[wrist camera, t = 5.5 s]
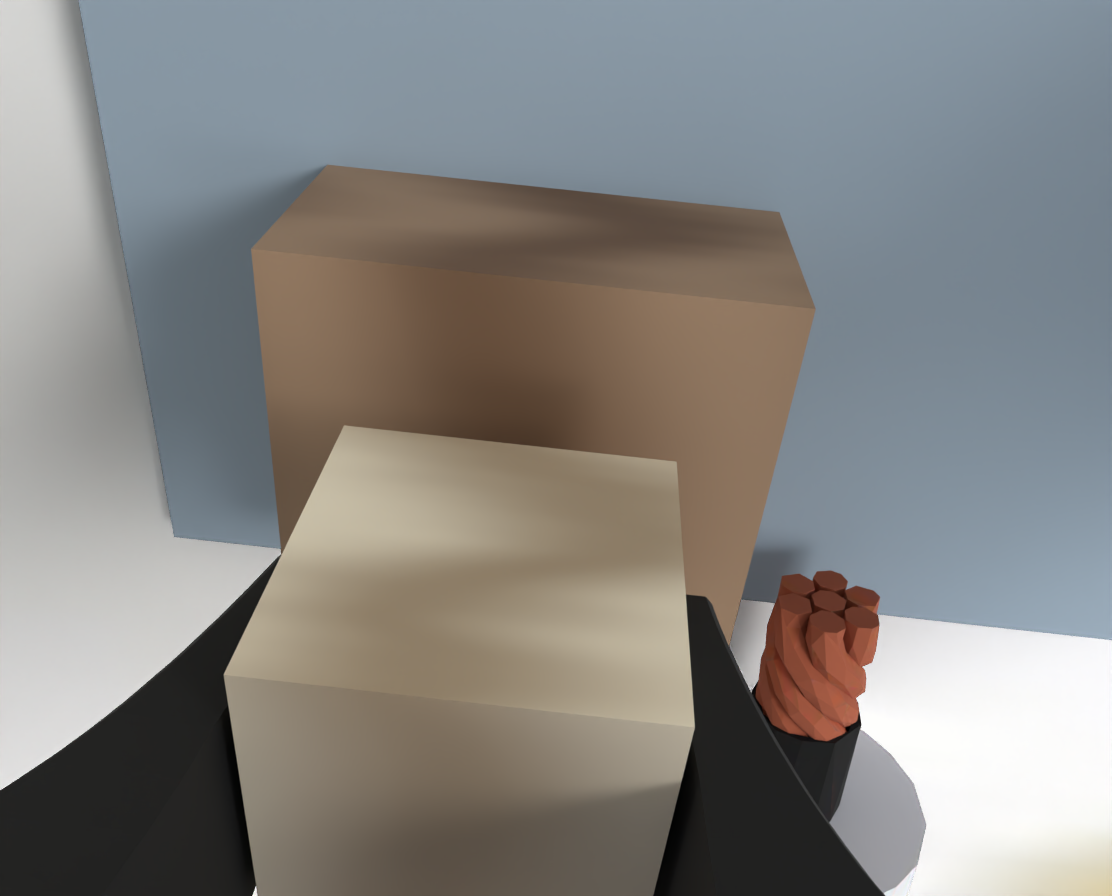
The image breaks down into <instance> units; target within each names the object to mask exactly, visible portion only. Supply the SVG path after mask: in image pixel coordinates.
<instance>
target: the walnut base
mask: <svg viewBox="0 0 1112 896" xmlns="http://www.w3.org/2000/svg"><path fill="white" fill-rule="evenodd" d="M251 253H252V263H253V273H254V284H255V294H256V304H257V314H258V324H259V334H260V344H261V354H262V364H263V374H264V384H265V394H266V404H267V414H268V424H269V434H270V444H271V455H272V465H273V475H274V485H275V495H276V505H277V515H278V525H279V535H280V545H281V554H282V553H283V551H284V549H285V547H286V545H287V543H288V540H289V538H290V536H291V534H292V532H293V530H294V528H295V526H296V524H297V522H298V520H299V518H300V516H301V514H302V512H303V509H304V507H305V505H306V503H307V501H308V499H309V497H310V495H311V493H312V491H313V489H314V487H315V485H316V483H317V480H318V478H319V476H320V474H321V472H322V470H323V468H324V466H325V464H326V462H327V460H328V458H329V456H330V454H331V452H332V449H333V447H334V445H335V443H336V441H337V439H338V437H339V435H340V433H341V431H342V429H343V427H344V425H345V426H354V427H363V428H372V429H381V430H391V431H400V432H409V433H418V434H427V435H436V436H446V437H455V438H464V439H473V440H482V441H492V442H501V443H510V444H519V445H528V446H537V447H547V448H556V449H565V450H574V451H583V452H592V453H602V454H611V455H620V456H629V457H638V458H647V459H657V460H666V461H675V462H677V474H678V488H679V503H680V517H681V532H682V547H683V561H684V576H685V590H686V594H687V595H696V596H705V597H707V599H708V600H709V601H710V602H711V603H712V605H713V608H714V611H715V613H716V616H717V619H718V621H719V624H720V626H721V629H722V631H723V634H724V636H725V638H726V641H727V643H728V645H729V644H730V640H731V636H732V632H733V629H734V625H735V621H736V617H737V613H738V609H739V605H740V601H741V597H742V594H743V590H744V586H745V582H746V578H747V574H748V570H749V566H750V563H751V559H752V555H753V551H754V547H755V543H756V539H757V535H758V531H759V528H760V524H761V520H762V516H763V512H764V508H765V504H766V500H767V497H768V493H769V489H770V485H771V481H772V477H773V473H774V469H775V465H776V462H777V458H778V454H779V450H780V446H781V442H782V438H783V434H784V431H785V427H786V423H787V419H788V415H789V411H790V407H791V403H792V399H793V396H794V392H795V388H796V384H797V380H798V376H799V372H800V368H801V365H802V361H803V357H804V353H805V349H806V345H807V341H808V337H809V333H810V330H811V326H812V322H813V318H814V314H815V310H816V308H815V306H814V303H813V300H812V298H811V295H810V292H809V290H808V287H807V284H806V282H805V279H804V276H803V274H802V271H801V268H800V266H799V263H798V260H797V258H796V255H795V252H794V250H793V247H792V244H791V242H790V239H789V236H788V234H787V231H786V228H785V226H784V223H783V220H782V218H781V215H780V212H773V211H764V210H754V209H745V208H735V207H726V206H716V205H707V204H697V203H687V202H678V201H668V200H659V199H649V198H640V197H630V196H621V195H611V194H602V193H592V192H583V191H573V190H564V189H554V188H545V187H535V186H526V185H516V184H507V183H497V182H488V181H478V180H469V179H459V178H450V177H440V176H431V175H421V174H412V173H402V172H393V171H383V170H374V169H364V168H355V167H345V166H336V165H327V166H326V167H325V168H324V169H323V170H322V171H321V172H320V174H319V175H318V176H317V177H316V178H315V179H314V180H313V181H312V182H311V183H310V185H309V186H308V187H307V188H306V189H305V190H304V191H303V192H302V193H301V194H300V196H299V197H298V198H297V199H296V200H295V201H294V202H293V203H292V204H291V206H290V207H289V208H288V209H287V210H286V211H285V212H284V213H283V214H282V215H281V217H280V218H279V219H278V220H277V221H276V222H275V223H274V224H273V225H272V226H271V228H270V229H269V230H268V231H267V232H266V233H265V234H264V235H263V236H262V237H261V239H260V240H259V241H258V242H257V243H256V244H255V245H254V246H253V247H252V248H251Z"/></svg>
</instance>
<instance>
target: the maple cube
mask: <svg viewBox="0 0 1112 896" xmlns="http://www.w3.org/2000/svg"><path fill="white" fill-rule="evenodd" d="M224 681H225V687H226V694H227V700H228V707H229V713H230V720H231V726H232V732H233V739H234V745H235V752H236V758H237V765H238V771H239V778H240V784H241V791H242V797H243V804H244V810H245V816H246V823H247V829H248V836H249V842H250V849H251V855H252V862H253V868H254V875H255V881H256V888H257V894H258V896H653V894H654V890H655V886H656V882H657V878H658V874H659V870H660V866H661V862H662V858H663V854H664V850H665V846H666V842H667V838H668V834H669V830H670V826H671V822H672V818H673V814H674V810H675V806H676V802H677V798H678V794H679V790H680V786H681V782H682V778H683V774H684V770H685V765H686V761H687V757H688V753H689V749H690V745H691V741H692V737H693V733H694V729H695V721H694V707H693V692H692V678H691V663H690V648H689V634H688V619H687V605H686V590H685V576H684V561H683V547H682V532H681V517H680V503H679V488H678V474H677V462H675V461H666V460H657V459H647V458H638V457H629V456H620V455H611V454H602V453H592V452H583V451H574V450H565V449H556V448H547V447H537V446H528V445H519V444H510V443H501V442H492V441H482V440H473V439H464V438H455V437H446V436H436V435H427V434H418V433H409V432H400V431H391V430H381V429H372V428H363V427H354V426H345V425H344V427H343V429H342V431H341V433H340V435H339V437H338V439H337V441H336V443H335V445H334V447H333V449H332V452H331V454H330V456H329V458H328V460H327V462H326V464H325V466H324V468H323V470H322V472H321V474H320V476H319V478H318V480H317V483H316V485H315V487H314V489H313V491H312V493H311V495H310V497H309V499H308V501H307V503H306V505H305V507H304V509H303V512H302V514H301V516H300V518H299V520H298V522H297V524H296V526H295V528H294V530H293V532H292V534H291V536H290V538H289V540H288V543H287V545H286V547H285V549H284V551H283V553H282V555H281V557H280V559H279V561H278V563H277V565H276V567H275V569H274V571H273V574H272V576H271V578H270V580H269V582H268V584H267V586H266V588H265V590H264V592H263V594H262V596H261V598H260V600H259V603H258V605H257V607H256V609H255V611H254V613H253V615H252V617H251V619H250V621H249V623H248V625H247V627H246V629H245V631H244V634H243V636H242V638H241V640H240V642H239V644H238V646H237V648H236V650H235V652H234V654H233V656H232V658H231V660H230V663H229V665H228V667H227V669H226V671H225V673H224Z"/></svg>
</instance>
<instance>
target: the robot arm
mask: <svg viewBox="0 0 1112 896" xmlns="http://www.w3.org/2000/svg"><path fill="white" fill-rule="evenodd" d="M281 555H282V554H281ZM281 555H280V556H279V557H278V558H277V559H276V560H275V561H274V562H273V563H272V564H271V565H270V566H269V567H268V568H267V569H266V570H265V571H264V572H263V573H262V574H261V575H260V576H259V577H258V578H257V579H256V580H255V581H254V583H253V584H252V585H251V586H250V587H249V588H248V589H247V590H246V591H245V592H244V593H243V594H242V595H241V596H240V597H239V598H238V599H237V600H236V601H235V602H234V603H233V604H232V605H231V606H230V607H229V608H228V609H227V610H226V611H225V612H224V613H223V614H222V615H221V616H220V617H219V618H218V619H217V620H216V621H214V622H213V623H212V624H211V625H210V626H209V627H208V628H207V629H206V630H205V631H204V632H203V633H202V634H201V635H200V636H199V637H197V638H196V639H195V640H194V641H193V642H192V643H191V644H190V645H189V646H188V647H187V648H186V649H185V650H184V651H183V652H182V653H180V654H179V655H178V656H177V657H176V658H175V659H174V660H173V661H172V662H170V663H169V664H168V665H167V666H166V667H165V668H163V669H162V670H161V671H160V672H159V673H158V674H156V675H155V676H154V677H153V678H152V679H151V680H149V681H148V682H147V683H146V684H145V685H144V686H142V687H141V688H140V689H139V690H138V691H137V692H135V693H134V694H133V695H132V696H131V697H129V698H128V699H127V700H126V701H125V702H123V703H122V704H121V705H120V706H118V707H117V708H116V709H115V710H113V711H112V712H111V713H110V714H108V715H107V716H106V717H105V718H103V719H102V720H101V721H99V722H98V723H97V724H95V725H94V726H93V727H92V728H90V729H89V730H88V731H86V732H85V733H84V734H82V735H81V736H79V737H78V738H77V739H75V740H74V741H73V742H71V743H70V744H68V745H67V746H66V747H64V748H63V749H62V750H60V751H59V752H57V753H56V754H55V755H53V756H52V757H50V758H49V759H47V760H46V761H44V762H43V763H41V764H40V765H38V766H37V767H35V768H34V769H32V770H31V771H29V772H28V773H26V774H25V775H23V776H22V777H20V778H19V779H17V780H16V781H14V782H13V783H11V784H10V785H8V786H7V787H5V788H3V789H2V790H0V896H252V895H253V892H254V889H255V887H256V881H255V875H254V868H253V862H252V855H251V849H250V842H249V836H248V829H247V823H246V816H245V810H244V804H243V797H242V791H241V784H240V778H239V771H238V765H237V758H236V752H235V745H234V739H233V732H232V726H231V720H230V713H229V707H228V700H227V694H226V687H225V681H224V673H225V671H226V669H227V667H228V665H229V663H230V660H231V658H232V656H233V654H234V652H235V650H236V648H237V646H238V644H239V642H240V640H241V638H242V636H243V634H244V631H245V629H246V627H247V625H248V623H249V621H250V619H251V617H252V615H253V613H254V611H255V609H256V607H257V605H258V603H259V600H260V598H261V596H262V594H263V592H264V590H265V588H266V586H267V584H268V582H269V580H270V578H271V576H272V574H273V571H274V569H275V567H276V565H277V563H278V561H279V559H280V557H281ZM686 605H687V619H688V634H689V648H690V663H691V678H692V692H693V707H694V721H695V729H694V733H693V737H692V741H691V745H690V749H689V753H688V757H687V761H686V765H685V770H684V774H683V778H682V782H681V786H680V790H679V794H678V798H677V802H676V806H675V810H674V814H673V818H672V822H671V826H670V830H669V834H668V838H667V842H666V846H665V850H664V854H663V858H662V862H661V866H660V870H659V874H658V878H657V882H656V886H655V890H654V894H653V896H885V895H884V893H883V892H882V891H881V890H880V889H879V888H878V886H877V885H876V884H875V883H874V882H873V880H872V879H871V878H870V876H869V875H868V874H867V873H866V871H865V870H864V869H863V867H862V866H861V865H860V863H859V862H858V861H857V859H856V858H855V857H854V856H853V854H852V853H851V852H850V850H849V849H848V848H847V846H846V845H845V844H844V842H843V841H842V840H841V838H840V837H839V835H838V834H837V833H836V831H835V830H834V828H833V827H832V826H831V824H830V823H829V821H828V820H827V819H826V817H825V816H824V814H823V813H822V811H821V810H820V808H819V807H818V805H817V804H816V803H815V801H814V800H813V798H812V796H811V795H810V793H809V792H808V790H807V789H806V787H805V786H804V784H803V783H802V781H801V779H800V778H799V776H798V775H797V773H796V771H795V770H794V768H793V766H792V765H791V763H790V761H789V760H788V758H787V757H786V755H785V753H784V752H783V750H782V748H781V747H780V745H779V743H778V741H777V740H776V738H775V736H774V734H773V733H772V731H771V729H770V727H769V725H768V723H767V722H766V720H765V718H764V716H763V714H762V712H761V710H760V708H759V707H758V705H757V703H756V701H755V699H754V697H753V695H752V693H751V692H750V690H749V688H748V686H747V684H746V682H745V680H744V678H743V675H742V673H741V671H740V669H739V667H738V665H737V663H736V661H735V658H734V656H733V654H732V652H731V650H730V647H729V645H728V643H727V641H726V638H725V636H724V634H723V631H722V629H721V626H720V624H719V621H718V619H717V616H716V613H715V611H714V608H713V605H712V603H711V602H710V601H709V600H708V599H707V597H705V596H696V595H687V594H686Z"/></svg>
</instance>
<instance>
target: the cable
mask: <svg viewBox="0 0 1112 896" xmlns="http://www.w3.org/2000/svg"><path fill="white" fill-rule="evenodd" d="M847 583H848V581H847V580H846V579H845V578H844V577H843V575H842V574H840V573H837V572H834V571H831V570H829V571H817V572H816V574H815V575H814V577H813V581H812V580H810V579H808V578H807V577H805V576H803V575H801V574H792V575H784V576H782V578H781V583H780V587H779V592H778V596H777V599H776V602H775V605H774V608H773V610H772V613H771V616H770V619H769V622H768V625H767V634H766V646H765V650H764V652H763V655H762V657H761V664H760V673H759V680H758V682H757V684H756V685H755V687H754V689H753V690H752V695H753V697H754V699H755V701H756V703H757V705H758V707H759V708H760V710H761V712H762V714H763V716H764V718H765V720H766V722H767V723H768V725H769V727H770V729H771V731H772V733H773V734H774V736H775V738H776V740H777V741H778V743H779V745H780V747H781V748H782V750H783V752H784V753H785V755H786V757H787V758H788V760H789V761H790V763H791V765H792V766H793V768H794V770H795V771H796V773H797V775H798V776H799V778H800V779H801V781H802V783H803V784H804V786H805V787H806V789H807V790H808V792H809V793H810V795H811V796H812V798H813V800H814V801H815V803H816V804H817V805H818V807H819V808H820V810H821V811H822V813H823V814H824V816H825V817H826V819H827V820H828V821H829V823H830V824H831V826H832V827H833V828H834V830H835V831H836V833H837V834H838V835H839V837H840V838H841V840H842V841H843V842H844V844H845V845H846V846H847V848H848V849H849V850H850V852H851V853H852V854H853V856H854V857H855V858H856V859H857V861H858V862H859V863H860V865H861V866H862V867H863V869H864V870H865V871H866V873H867V874H868V875H869V876H870V878H871V879H872V880H873V882H874V883H875V884H876V885H877V886H878V888H879V889H880V890H881V891H882V892H883V893H884V895H885V896H907V895H908V892H909V889H910V886H911V883H912V880H913V877H914V874H915V870H916V867H917V864H918V860H919V855H920V851H921V846H922V842H923V838H924V833H925V829H926V822H925V819H924V816H923V813H922V809H921V806H920V803H919V800H918V796H917V793H916V790H915V787H914V784H913V782H912V781H911V780H910V778H909V777H908V776H907V775H906V773H905V772H904V771H903V769H902V768H901V767H900V766H899V764H898V763H897V762H896V760H895V759H894V758H893V757H892V755H891V754H890V753H889V752H888V751H886V750H885V749H884V748H883V747H882V746H881V745H879V744H878V743H877V742H876V741H875V740H874V739H872V738H871V737H870V736H869V735H868V734H866V733H865V732H864V731H862V730H860V728H861V719H860V713H859V707H858V702H857V700H856V697H858V696H859V695H861V694H862V693H863V692H865V687H866V674H865V670H864V669H863V668H862V667H863V666H865V665H867V664H869V663H872V661H873V658H874V655H875V652H876V645H877V638H878V631H879V619H878V615H877V610H878V606H879V601H880V596H879V595H878V594H877V593H876V592H874V591H873V590H870V589H866V588H863V587H860V586H854V587H852V588H849V589H847V590H846V588H847Z"/></svg>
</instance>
